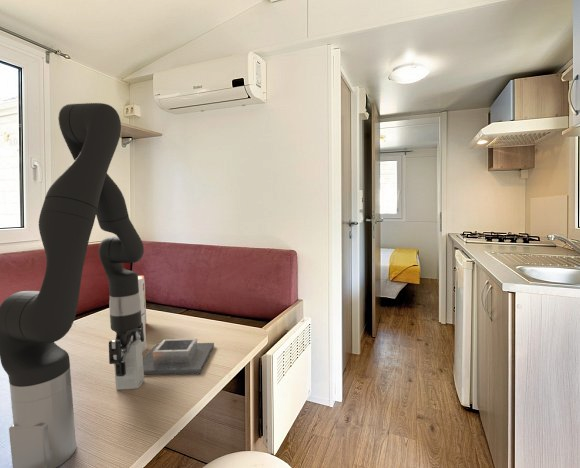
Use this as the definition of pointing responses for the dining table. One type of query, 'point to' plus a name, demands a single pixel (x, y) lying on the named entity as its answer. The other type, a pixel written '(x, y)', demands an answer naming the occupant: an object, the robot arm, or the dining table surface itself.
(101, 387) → the dining table surface
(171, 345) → the duct plate
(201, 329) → the dining table surface
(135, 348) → the skincare box
